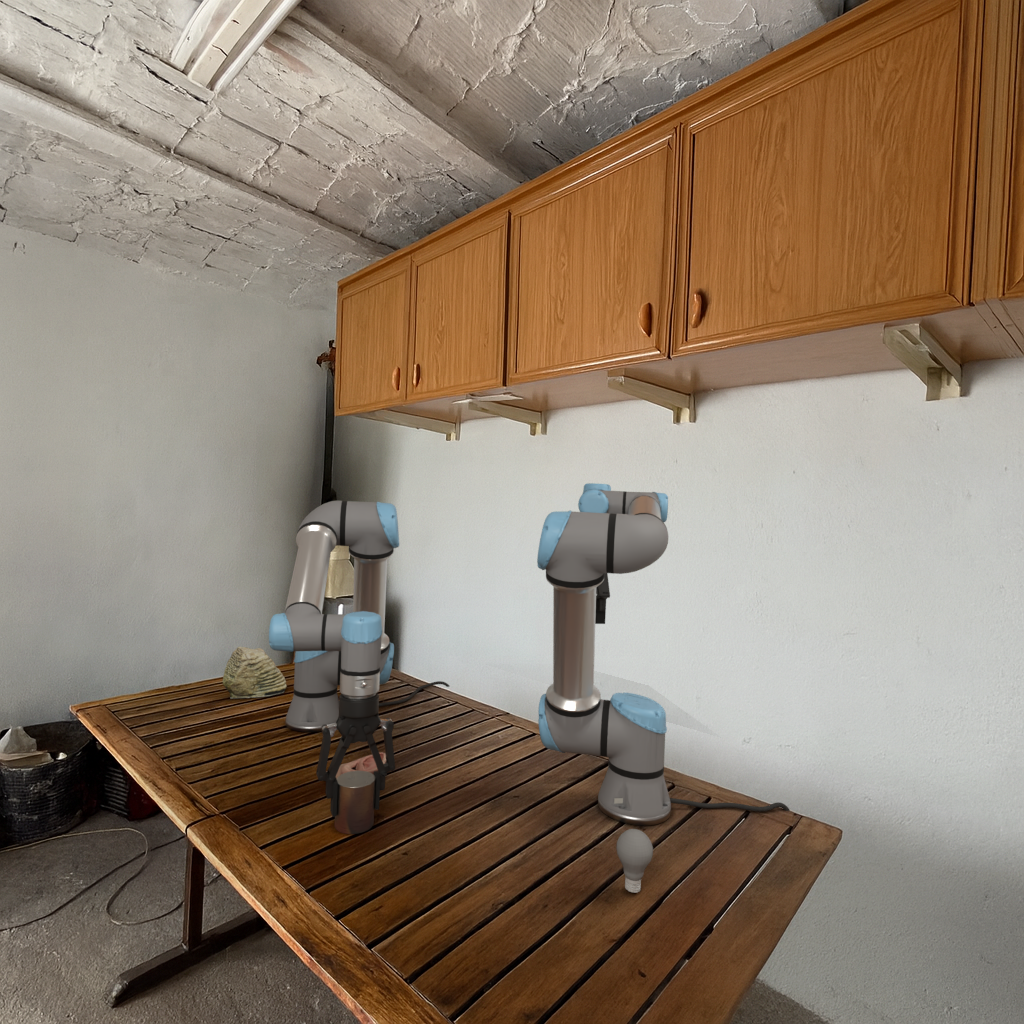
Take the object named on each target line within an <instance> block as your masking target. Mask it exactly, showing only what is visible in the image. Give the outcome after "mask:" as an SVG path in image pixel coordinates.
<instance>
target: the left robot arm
mask: <svg viewBox="0 0 1024 1024" xmlns="http://www.w3.org/2000/svg"><path fill="white" fill-rule="evenodd" d="M295 544H296V546H297V547H298V548H297V552H296V557H295V560H294V561H295V562H294V567H293V572H292V576H291V581H290V584H289V589H288V594H287V598H286V604H285V607H284V612H281V613H274V614H273V615H272V617H271V618H270V621H269V626H268V627H269V628H268V644H269V647H270V648H271V649H272V650H273V651H277V652H289V653H293V652H295V655H294V660H293V663H294V674H293V675H294V680H293V695H292V696H293V697H292V699H291V702H290V704H289V708H288V709H287V713H286V715H285V726H286V728H287V729H289V730H291V731H294V732H295V731H296V732H301V733H316V732H321V734H322V739H321V744H320V751H319V756H318V761H317V766H316V770H315V771H316V777H317V780H318V781H319V782H322V781H324V782H325V796H326V799H330V807H329V809H330V810H329V811H330V814H331V816H332V818H335V817H336V816H337V794H338V781H337V779H336V774H337V772H338V770H339V767H340V765H341V764H343V763H342V762H343V760H344V758H345V755H346V753H347V751H348V749H349V748H350V746H351V745H352V744H356V743H359V742H360V743H366V742H367V745H368V748H369V750H370V753H371V755H372V756H373V758H374V761H375V763H376V766H377V769H378V771H374V775H375V803H374V811H377V810H378V811H379V810H380V796H381V792H382V791H385V789H386V776H387V775H388V773H389V772H390V771H391V772H392V771H394V770H395V769H396V761H395V760H396V759H395V751H394V742H393V741H394V740H393V730H394V727H395V722H394V721H393V720H392V718H391V717H386V718H380V715H379V708H380V707H385V706H392V705H398V704H404V703H405V702H408V701H410V700H411V699H412V698H413V697H414V696H416V695H417V694H418V692H419V691H421V690H423V689H427V688H429V687H432V686H436V685H443V686H445V687H446V688H449V687H451V686H450V685H449V684H448V683H447V682H445V681H442V680H440V681H433V682H429V683H426V684H423V685H420V686H419V687H417V688H416V689H415V690H414V691H413V692H412V693H411V694H410V695H409V696H407V697H405V698H402V699H398V700H393V701H386V702H380V694H379V691H380V686H381V685H385V684H387V683H388V682H389V680H390V677H391V675H392V669H393V664H394V663H393V662H394V661H393V660H394V656H395V645H394V644H395V643H393V642H391V641H390V637H389V636H388V635H387V634H386V633H385V622H386V619H385V618H386V601H387V600H386V598H387V580H388V579H387V578H388V576H387V575H388V559H389V558H391V557H392V556H393V555H394V551H395V549H397V548H399V547H400V532H399V521H398V511H397V506H395V505H394V504H393V503H390V502H380V501H356V500H355V501H354V500H353V501H351V500H331V501H328V502H325V503H323V504H321V505H319V506H317V507H316V508H314V509H313V510H311V512H309V513H308V514H307V515H306V516H305V517H304V519H303V520H302V521H301V523H300V525H299V527H298V530H297V533H296V536H295ZM336 546H337V547H338V546H339V547H348V554H349V556H351V557H352V558H354V559H353V560H354V561H353V562H354V563H353V598H352V599H353V600H352V601H353V602H352V604H353V605H352V612H349V613H334V614H333V613H331V614H330V613H323V609H324V602H325V594H326V588H327V580H328V574H329V567H330V560H331V553H332V552H333V551H334V550H335V548H336ZM338 686H339V693H340V695H338ZM379 727H380V729H381V730H382V734H383V745H384V753H385V754H386V762H385V764H383V762H382V759H381V756H380V754H379V753H380V751H379V748H378V746H377V743H376V740H375V737H374V734H375V732H376V731H377V730H378V728H379ZM336 731H338V732H339V734H340V735H341V736H340V738H339V742H338V745H337V747H336V749H335V752H334V754H333V757H332V759H331V762H330V764H329V766H328V762H329V757H330V756H329V755H330V749H331V745H332V737H334V736H335V732H336ZM327 766H328V767H327ZM326 771H327V772H326Z"/></svg>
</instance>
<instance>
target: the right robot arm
mask: <svg viewBox="0 0 1024 1024" xmlns="http://www.w3.org/2000/svg"><path fill="white" fill-rule="evenodd" d="M582 490H583V491H582V494H581V495H580V496H579V499H578V504H577V507H578V509H579V511H573V510H568V511H567V510H566V511H564V510H561V511H551V512H550V513H548V514H547V515H546V517H545V519H544V522H543V525H542V529H541V533H540V538H539V544H538V550H537V558H536V559H537V561H536V563H537V565H536V566H537V568H538V569H540V570H542V571H545V579H546V581H547V582H548V584H550V585H551V586H552V587H553V590H552V591H553V597H552V598H553V599H552V600H553V602H552V605H553V606H552V608H553V611H552V612H553V613H552V616H553V624H552V625H553V629H552V630H553V631H552V632H553V633H552V634H553V637H552V638H553V640H552V641H553V644H552V645H553V647H552V648H553V649H552V650H553V651H552V652H553V653H552V663H553V665H552V666H553V667H552V673H553V674H552V683H551V684H550V685H549V686H548V687H547V689H546V692H545V693H543V694H542V695H541V696H540V699H539V703H538V710H537V711H538V720H537V721H538V723H537V724H538V732H539V737H540V741H541V743H542V745H543V747H545V748H546V749H547V750H551V751H556V752H560V753H563V754H565V753H571V754H578V755H586V756H587V755H588V756H596V757H602V758H608V764H607V765H608V766H607V769H606V773H605V775H604V778H603V781H602V783H601V786H600V788H599V791H598V795H597V796H598V797H597V806H598V808H599V810H600V812H602V813H603V814H604V815H606V816H608V817H609V818H611V819H613V820H615V821H618V822H620V823H624V824H628V825H634V826H654V825H659V824H662V823H664V822H666V821H667V820H668V819H669V818H670V817H671V814H672V804H677V805H683V806H690V807H696V808H701V809H725V808H727V809H729V808H730V809H739V810H745V811H751V812H757V813H758V812H760V813H761V812H762V813H766V812H769V811H772V810H775V809H777V808H780V809H783V810H784V811H786V812H790V811H791V810H790V808H789V807H788V806H787V805H786V804H785V803H783V802H774V803H771V804H768V805H765V806H754V805H748V804H743V803H738V802H737V803H736V802H716V803H715V802H714V803H713V802H712V803H711V802H710V803H709V802H708V803H707V802H698V801H693V800H688V799H680V798H674V797H670V794H669V790H668V787H667V783H666V780H665V748H666V733H667V731H668V727H667V714H666V711H665V708H664V707H663V705H661V704H660V703H659V702H657V701H656V700H654V699H652V698H649V697H647V696H644V695H642V694H641V695H640V694H637V693H632V692H615V693H613V694H612V695H611V697H610V699H601V698H602V695H601V692H600V690H599V688H598V687H597V686H596V685H595V655H596V654H595V653H596V650H595V649H596V625H606V615H607V614H606V613H607V599H610V597H611V592H610V591H611V590H610V584H609V576H608V574H611V575H612V574H613V575H614V574H617V575H622V574H630V573H635V572H637V571H641V570H643V569H645V568H647V567H649V566H651V565H653V564H654V563H655V562H657V561H658V560H659V559H660V558H662V556H663V555H664V553H665V552H666V550H667V547H668V544H669V531H668V527H667V526H666V524H665V523H666V522H667V520H668V515H669V514H668V513H669V512H668V511H669V496H668V494H666V493H665V492H657V491H651V492H650V491H623V490H612V487H611V485H610V484H609V483H608V484H607V483H595V482H594V483H593V482H592V483H591V482H590V483H589V482H588V483H585V484H584V485H583V489H582ZM769 805H770V806H769Z"/></svg>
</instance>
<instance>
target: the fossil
mask: <svg viewBox="0 0 1024 1024" xmlns="http://www.w3.org/2000/svg"><path fill="white" fill-rule="evenodd" d="M222 676H223V677H222V685H223V687H224V688H225V690H226V691H228V693H229V698H230V699H250V698H264V697H271V696H275V695H281V694H284V693H285V691H286V689H287V687H288V686H287V680H286V678H285V676H284V674H283V673H282V672H281V669H279V668H278V667H277V665H276V663H275V662H274V660H273V659H272V658H271V657H270V656H269V655H268V654H267V653H266V652H265V650H264V649H263V648H260V647H258V648H251V647H247V646H246V647H245V646H238V647H237V648H236V649H235V650H233V651H232V653H231V656H230V657H229V659H228V660H227V663H226V666H225V668H224V671H223V675H222Z"/></svg>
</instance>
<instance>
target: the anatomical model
mask: <svg viewBox="0 0 1024 1024" xmlns="http://www.w3.org/2000/svg"><path fill="white" fill-rule="evenodd" d="M379 754H380V756H381V759H382V762H383V764H385V763H386V754H385V752H383V751H382V752H379ZM350 771H367V772H370V773H372V774H374V771H378V769H377V766H376V763H375V761H374V758H373V756H372V754H369V755H366V756H363V757H360V758H357V759H354V760H352V761H350V762H346V763H341V765H340V767H339V770H338V772H337V774H336V779H337V778H338V777H339V776H340V775H341V774H344V773H346V772H350ZM326 772H327V770H326Z"/></svg>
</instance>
